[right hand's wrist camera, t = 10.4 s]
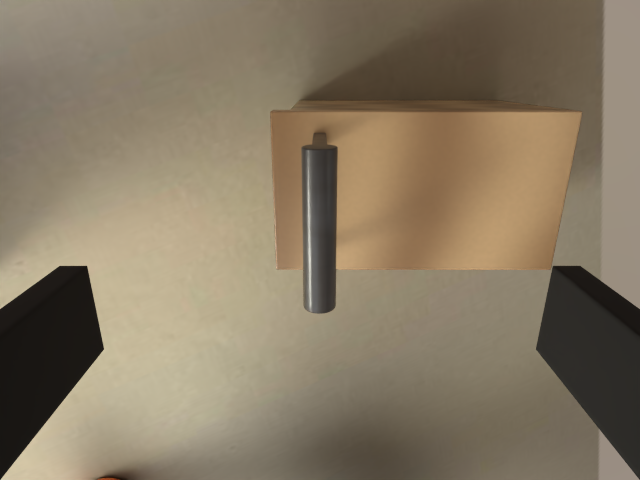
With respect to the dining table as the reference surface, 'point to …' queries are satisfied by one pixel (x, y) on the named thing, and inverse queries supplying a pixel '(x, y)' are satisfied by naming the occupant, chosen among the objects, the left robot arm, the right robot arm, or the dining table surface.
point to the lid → (417, 190)
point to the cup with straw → (107, 479)
